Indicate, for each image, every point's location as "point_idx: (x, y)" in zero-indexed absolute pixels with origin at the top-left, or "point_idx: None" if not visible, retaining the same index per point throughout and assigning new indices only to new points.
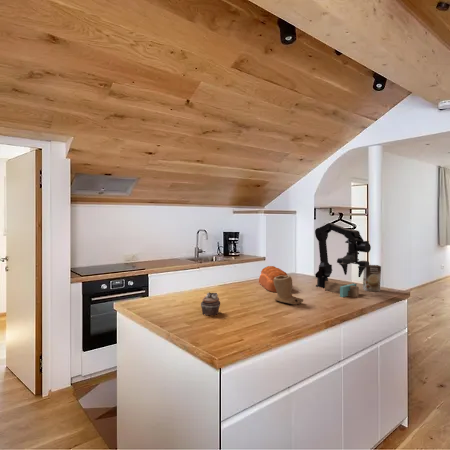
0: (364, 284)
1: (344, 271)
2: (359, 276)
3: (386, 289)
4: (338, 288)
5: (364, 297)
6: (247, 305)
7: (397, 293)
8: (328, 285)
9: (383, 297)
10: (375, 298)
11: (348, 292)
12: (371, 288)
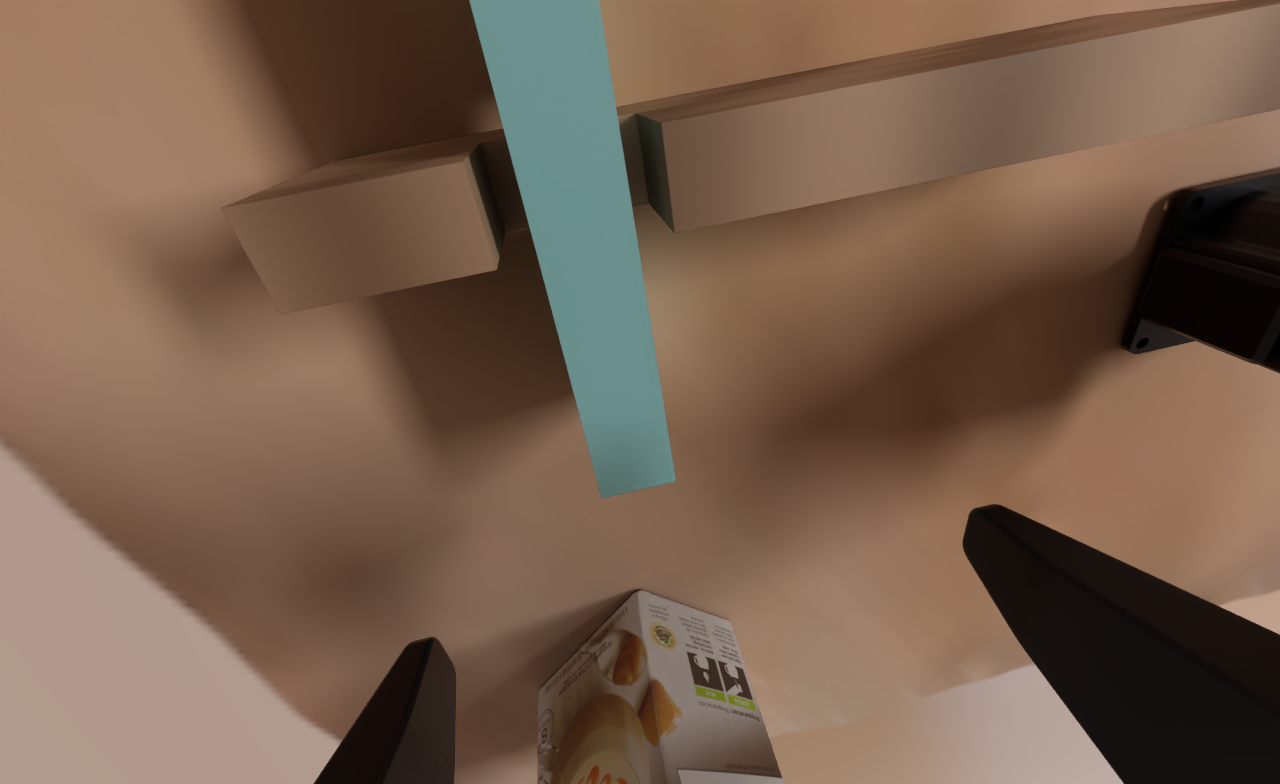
0: (700, 671)
1: (1129, 591)
2: (395, 674)
3: None
4: (819, 77)
5: None
6: None
7: None
8: (1130, 20)
9: (220, 556)
10: (168, 417)
11: None
12: (596, 662)
